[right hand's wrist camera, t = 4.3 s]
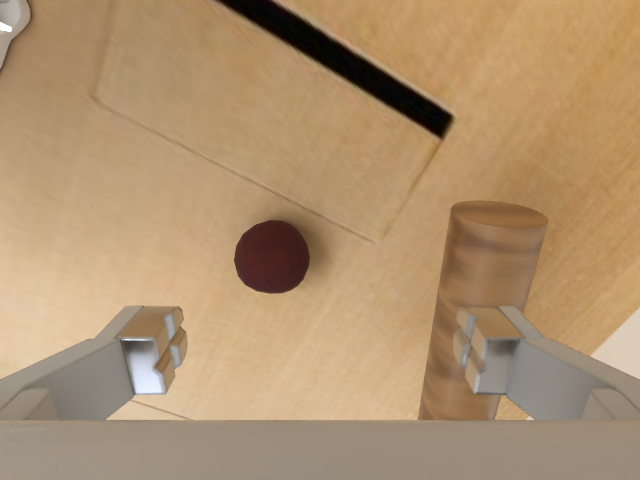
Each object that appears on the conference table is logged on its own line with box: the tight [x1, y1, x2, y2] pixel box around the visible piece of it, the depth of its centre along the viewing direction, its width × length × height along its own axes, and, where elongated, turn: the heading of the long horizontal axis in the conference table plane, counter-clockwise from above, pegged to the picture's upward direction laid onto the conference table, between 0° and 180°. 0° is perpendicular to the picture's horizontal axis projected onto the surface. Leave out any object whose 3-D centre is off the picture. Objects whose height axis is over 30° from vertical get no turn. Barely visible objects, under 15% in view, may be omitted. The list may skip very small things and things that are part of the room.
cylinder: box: [418, 201, 548, 420], centre depth 30 cm, size 26×6×6 cm, turn 179°
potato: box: [234, 220, 310, 293], centre depth 36 cm, size 7×8×7 cm
